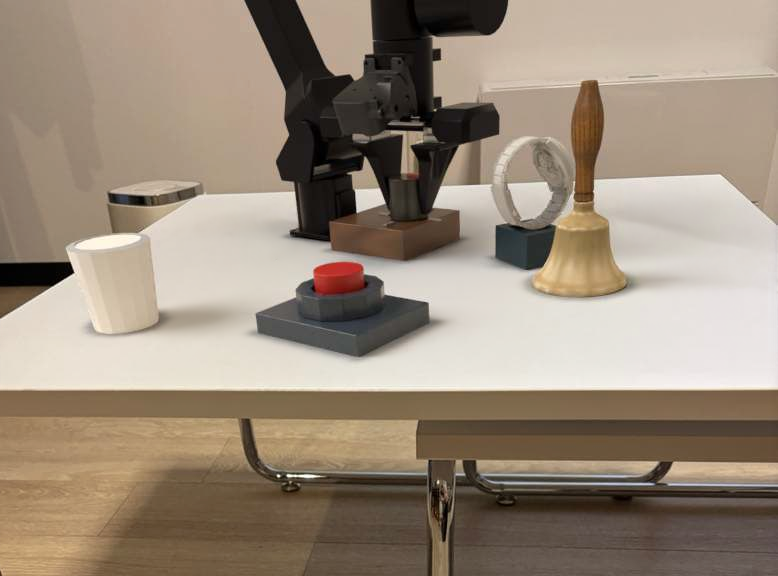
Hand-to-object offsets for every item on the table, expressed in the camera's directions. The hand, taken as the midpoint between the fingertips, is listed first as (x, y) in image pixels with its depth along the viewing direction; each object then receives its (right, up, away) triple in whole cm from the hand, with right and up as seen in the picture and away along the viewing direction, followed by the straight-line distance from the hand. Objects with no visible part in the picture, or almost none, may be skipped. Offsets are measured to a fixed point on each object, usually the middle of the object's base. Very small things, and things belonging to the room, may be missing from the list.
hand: (409, 212), depth 87 cm
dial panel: (-1, -2, +3) cm, 4 cm away
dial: (0, 0, 0) cm, 0 cm away
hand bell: (+15, -12, -13) cm, 23 cm away
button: (-6, -14, -21) cm, 26 cm away
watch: (+12, -7, -5) cm, 15 cm away
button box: (-6, -17, -19) cm, 26 cm away
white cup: (-25, -16, -14) cm, 33 cm away
